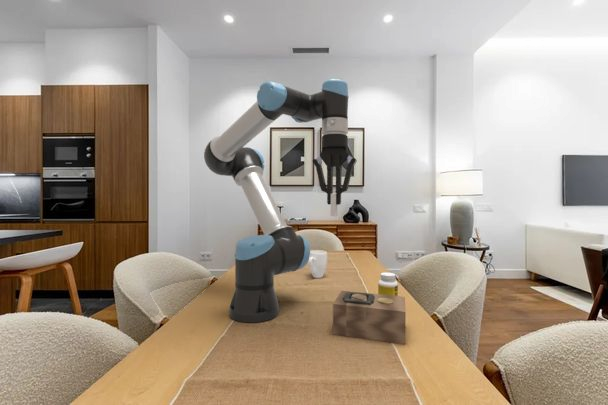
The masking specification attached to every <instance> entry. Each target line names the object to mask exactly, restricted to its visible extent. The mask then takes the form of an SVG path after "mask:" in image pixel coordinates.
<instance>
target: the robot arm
mask: <svg viewBox="0 0 608 405" xmlns="http://www.w3.org/2000/svg"><path fill="white" fill-rule="evenodd" d="M348 109H349V87H348V83H347V82H346V81H345V80H342V79H340V78H339V79H338V78H330V79H326V80H325V81H324V82H323V83H322V87H321V91H319V92H316V93H313V94H308V93H305V92H302V91H299V90H297V89H294V88H290V86H289V87H288V86H286V85H283V84H282V83H280V82H274V81H268V80H266V81H265V82H263V83H262V84H260V86H259V89H258V90H257V94H256V101H255V103H254V104H252V105H251V106H250V107H249V108H248V109H247V110H246V111H245V112H244V113H243V114H242V115H241V116H240V117H238V118H237V120H236V121H234V123H232V125H229V127H228V128H226V130H224V132H223V133H222V134H220V136H215V137H213V138H212V139H211V140H210V141H209V142H208V143H207V145H206V147H205V148H204V152H203V159H204V161H205V162H204V163H205V164H206V166H207V167H208V169H209V170H210V171H211V172H212V173H214V174H216V175H218V176H225V177H226V176H228V177H232V178H233V180H234V182H235V184H236V185H237V186H240V187H241V188H242V191H243V193H244V194H245V196H246V198H247V202H248V203H249V205H250V208H251V210H252V212H253V215H254V216H255V218H256V221H257V222H258V224H259V225H258V226H259V227H260V229H261V231H262V232H263V234H259V235H251V236H246V237H244V238H241V239H239V240H238V241H237V242H236V245H235V252H234V258H235V260H234V261H235V264H234V266H235V270H234V271H235V272H234V273H235V274H234V275H235V277H234V279H235V280H234V282H235V287H234V292H233V295H232V298H231V302H230V303H229V304H230V305H229V307H228V308H229V309H228V310H229V311H228V312H229V313H228V314H229V317H230V318H231V319H232V320H234V321H237V322H241V323H261V322H265V321H269V320H273V319H274V318H276V317H278V316H279V313H280V304H279V302H278V301H279V300H278V297H277V295H276V292H275V286H274V285H275V284H274V283H275V280H274V279H275V278H274V277H275V276H277V275H282V274H286V273H291V272H292V273H293V272H296V271H298V270H301V269H303V268H304V267H305V266H306V265H307V264H308V261H309V255H310V251H311V246H310V243H309V241H308V239H306V237H304V236H302V235H299V234H298V235H297V232H296V231H295V229H294V227H292V226H291V225H288V224H287V223H286V221H285V218H284V217H283V215H282V213H281V210H280V209H279V207H278V205H277V204H276V202H275V200H274V197H273V196H272V194H271V192H270V190H269V188H268V186H267V183H266V182H265V180H264V178H263V175H264V169H265V165H264V163H265V160H264V157H263V155H262V154H261V152H260V151H259V150H257V149H255V148H251V147H247V146H246V145H247V144H248V143H250V142H251V141H252V140H253V139H254V138H256V137H257V136H258V135H260V133H262V132H263V131H264V130H265V129H267V128H268V127H269V126H270V125H271V124H273V123H274V122H275V121H276V120H277V119H279V118H280V117H281V116H283V115H285V116H289V117H291V118H292V119H293V120H294V122H296V123H302V124H303V123H309V122H312V121H316V120H321V135H322V136H321V151H320V153H319V156H318V157H316V158H313V159H312V163H313V165H314V166H315V169H316V174H317V178H318V182H319V187H320V191H322V192H323V193H326V197H327V198H326V199H327V200H326V202H327V203H326V204H327V205H330V217H338V205H339V206H340V205H341V204H342V193H344V192H345V193H346V192H347V191H348V190H349V185H350V181H351V177H352V173H353V170H354V166H355V165H356V163H357V161H358V159H357V158H355V157H352V156H351V155H350V152H349V151H348V148H349V147H348V146H349V145H348V144H349V142H348V141H349V140H348V137H349V136H348V135H347V134H348V132H349V128H348V127H349V120H348V118H349V116H348V111H349V110H348ZM245 146H246V147H245ZM346 161H347V167H346V170H345V171H346V172H345V176H344V178H343V184H342V170H343V166H344V164H345V163H346ZM322 163H324V164H325V166H326V180H325V175H324V170H323V167H322ZM334 168H335V192H334V191H333V189H334V187H333V186H334ZM326 181H327V182H326Z"/></svg>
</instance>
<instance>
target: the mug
mask: <svg viewBox="0 0 608 405" xmlns="http://www.w3.org/2000/svg"><path fill="white" fill-rule="evenodd" d="M307 264H308V268H309V270H310V272H311V275H312V277H313V278H315V279H321V278H323V277H324V275H325V272H326V270H327V269H326V268H327V266H328V252H327V251H326V250H321V249H315V250H314V249H313V250H310V255H309V260H308V263H307Z"/></svg>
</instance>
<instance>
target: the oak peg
mask: <svg viewBox="0 0 608 405" xmlns="http://www.w3.org/2000/svg"><path fill="white" fill-rule="evenodd" d="M352 299H356V300H365V301H366V300H367V297H366V295H363V294H353V295H352Z"/></svg>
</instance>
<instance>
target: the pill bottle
mask: <svg viewBox="0 0 608 405" xmlns="http://www.w3.org/2000/svg"><path fill="white" fill-rule="evenodd" d="M395 279H397V278H396V274H395V273H394V272H381V273H380V279H379V281H377V282H378V283H377V284H378V285H377V290H378V291H377V294H380V295H391V296H399V295H398V294H399V284H398V282H397V281H396V280H395Z"/></svg>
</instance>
